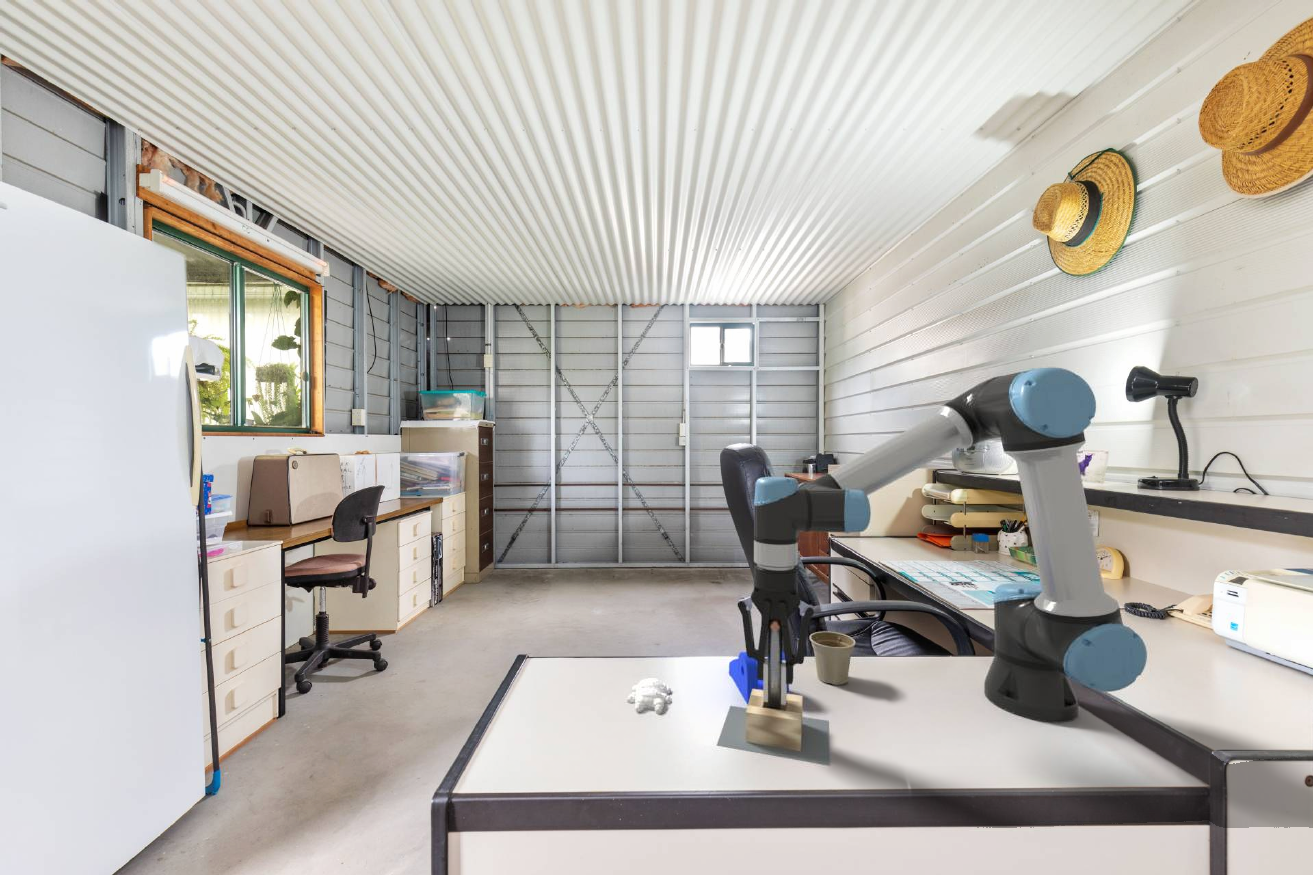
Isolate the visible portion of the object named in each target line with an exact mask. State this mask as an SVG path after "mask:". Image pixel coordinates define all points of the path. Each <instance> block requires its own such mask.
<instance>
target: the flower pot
mask: <svg viewBox="0 0 1313 875" xmlns="http://www.w3.org/2000/svg"><path fill="white" fill-rule="evenodd" d="M809 640H810V642H811V646H812V648H813V653H814V659H815V660H814V661H815V668H816V676H817V678H818V680H819V681H820V682H822V683H825V684H832V685H833V686H841V685H845V684H846V683H848V682H847V681H849V680H848V679H849V673H850V672H849V670H850V662H851V657H852V652H853V650H854V647H855V646H856V640H855V639H854V638H852V637H851V636H849V635H847V634H844V633H841V632H835V631H817V632H813V633H811V634H810V635H809Z"/></svg>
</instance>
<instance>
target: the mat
mask: <svg viewBox="0 0 1313 875" xmlns="http://www.w3.org/2000/svg"><path fill="white" fill-rule="evenodd" d="M746 710H747V707H742V706H737V705H736V706H733V705H729V709H728V711H727V715H726V716H725V717H726V718H725V721H724V723H723V726H722V728H721V732H720V734H719V738H718V740H717V744H716V746H717V747H722V748H723V747H724V748H728V749H729V748H730V749H735V750H739V751H740V750H741V751H746V752H753V753H756V754H757V753H758V754H764V755H768V756H772V757H773V756H774V757H780V758H784V759H792V760H796V761H802V762H808V763H814V764H819V765H825V766H830V765H831V764H830V761H831V759H830V729H829V728H830V727H829V724H830V722H829V720H827V719H819V718H812V717H804V716H803V722H802V739H801V751H796V750H790V749H784V748H779V747H773V746H767V745H761V744H756V743H750V742H746Z"/></svg>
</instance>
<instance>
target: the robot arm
mask: <svg viewBox="0 0 1313 875" xmlns="http://www.w3.org/2000/svg"><path fill="white" fill-rule="evenodd" d="M935 412H936V413H935V415H932V416H931V417H928V418H927V419H926V420H923V421H921V422H920V423H918V424H916V425H914V426H912V427H911V428H909V429H907V430H905V431H903V432H902V433H900V434H898V435H896V436H894V437H892V438H890V439H888V440H887V441H885V442H883V443H881V444H879V445H878V446H876V447H873V448H872V449H869V450H868V451H866V452H865V453H862V454H860V455H859V456H857V457H855V458H853V459H852V460H850V461H848V462H846V463H844V464H842V465H840V466H838V467H836V468H835V469H833V470H830V471H829V472H828V473H826V474H824V475H822V476H820V477H818V478H816V479H814V480H812V481H805V482H802V483H799V481H798V479H796V477H789V476H788V477H786V476H784V477H783V476H765V477H763V476H762V477H760V478H758V479H757V480H756V481H755V484H754V488H755V489H754V500H753V524H754V525H753V529H754V530H753V531H754V534H753V536H754V540H753V562H754V563H755V565H754V566H753V591H752V593H751V594H750V596H748V597H745V598H744V597H741V598H740V599H739V600H738V602H737V608H738V610H739V611H740V614H741V617H742V625H743V627H742V628H743V633H744V634H743V635H744V642H745V643H744V644H745V652H746V653H747V656H748V657H749V658H753V659H755V660H756V661H757V678H758V680H763V702H768V657H766V654H767V652H766V651H767V647H768V646H767V644H768V625H769V620H771V619H777V620H780V621H781V627H782V645H783V653H784V655H785V661H784V660H782V666H781V704H782V705H786V699H787V684H789V685H792V684H793V682H794V667H795V665H803V663H804V661H805V653H806V648H807V647H806V646H807V640H808V639H807V637H808V632H809V625H810V621H811V619H812V618H813V616H814V614H815V606H814V604H810V603H809V604H808V603H806V602H805V601H803V600H801V596H800V594H799V592H798V591H799V590H798V589H799V587H798V584H799V582H798V581H799V579H798V577H799V576H798V574H799V571H798V570H799V569H798V568H797V567H796V566H797V565H798V564H799V563H798V561H799V555H798V554H799V542H798V541H799V532H802V533H808V532H809V533H811V532H812V533H843V534H844V533H845V534H849V533H862V532H863V533H864V532H865V531H866V530H867V529H868V528H869V525H870V521H871V516H872V515H871V514H872V513H871V512H872V511H871V504H870V503H871V502H870V499H869V497H868V496H869V495H872V494H873V493H875V492H877V491H879V490H880V489H883V488H884V487H886V486H889V485H891V484H892V483H894V482H895V481H898V480H899V479H901V478H903V477H905V476H907V475H909V474H910V473H912V472H914V471H917V470H918V469H920V468H922V467H924V466H926V465H927V464H929V463H931V462H933V461H935V460H937V459H939V458H941V457H943V456H945V455H946V454H948V453H950V452H952V451H954V450H956V449H958V448H961V449H964V450H966V449H969V448H971V447H972V446H975V445H977V444H979V443H982V442H985V441H987V440H988V441H989V440H993V439H1000V441H1001V445H1002V450H1003V453H1004V454H1006V455H1008V456H1010V457H1011V458H1012V459H1014V460H1015V462H1016V468H1017V473H1018V478H1019V482H1020V488H1021V492H1022V499H1023V502H1024V507H1025V512H1026V517H1027V523H1028V527H1029V534H1030V539H1031V543H1032V548H1033V553H1034V557H1035V561H1036V562H1035V563H1036V569H1037V572H1038V578H1039V582H1040V584H1030V583H1029V584H1028V583H1002V584H1000V585H997V587H995V589H994V595H993V596H994V597H993V605H994V606H993V607H994V608H993V610H994V611H993V612H994V614H993V615H994V616H993V618H994V622H993V623H994V630H993V631H994V657H993V659H992V662H991V664H990V666H989V670H988V672H987V675H986V677H985V679H984V685H983V686H984V688H983V689H984V693H983V694H984V695H985V698H987V699H988V700H989V702H991V703H992V704H994V705H996V706H997V707H999V708H1001V709H1003V710H1005V711H1006V712H1009V713H1012V714H1016V715H1018V716H1022V717H1024V718H1029V719H1032V720H1038V721H1045V722H1051V723H1053V722H1054V723H1065V722H1071V721H1073V720H1075V719H1077V718H1078V716H1079V702H1078V699H1077V696H1076V693H1075V690H1074V688H1073V685H1072V682H1071V681H1073V682H1075V683H1077V684H1080V685H1083V686H1084V687H1086V688H1089V689H1091V690H1094V691H1098V692H1106V693H1107V692H1108V693H1109V692H1115V691H1116V692H1117V691H1120V690H1123V689H1125V688H1127V687H1129V686H1131V685H1132V684H1134V683H1135V682H1136V680H1137V678H1138V677H1139V676H1141V675H1142V674H1143V672H1144V670H1145V667H1146V664H1147V661H1148V660H1147V659H1148V651H1147V647H1146V644H1145V642H1144V640H1143V638H1142V637H1141V636H1140V635H1139V634H1138V633H1137V632H1135V630H1134V629H1132V628H1131V627H1129V626H1126V625H1124V623H1123V618H1122V614H1121V608H1120V604H1119V602H1118V600H1117V599H1115V598H1114V597H1112V596H1111V595H1109V594H1107V593H1106V591H1105V587H1104V582H1103V578H1102V572H1101V568H1100V562H1099V558H1098V553H1097V552H1098V551H1097V548H1096V544H1095V543H1096V542H1095V538H1094V534H1093V529H1092V524H1091V518H1090V513H1089V509H1088V505H1087V504H1088V503H1087V498H1086V495H1085V489H1084V484H1083V483H1084V482H1083V480H1082V474H1081V470H1080V464H1079V461H1078V459H1079V458H1078V455H1077V454H1078V452H1079V450H1080V449H1081V448H1082V447H1083V446H1084V445H1085V444H1086V436H1085V432H1084V431H1085V430H1086V429H1087V428H1088V427H1090V425H1091V423H1092V421H1091V420H1093V418H1095V414H1096V413H1097V402H1096V397H1095V394H1094V392H1093V390H1092V388H1091V386H1090V384H1088V382H1087V381H1086V380H1085V379H1084V378H1082V377H1081V376H1080V375H1078V374H1076V373H1075V372H1072V371H1071V370H1070V369H1066V368H1062V367H1056V366H1055V367H1053V366H1051V367H1038V368H1031V369H1027V370H1023V371H1019V372H1014V373H1009V374H1005V375H999V376H994V377H992V378H989V379H986V380H984V381H982V382H980V383H979V384H976V385H974V386H972V387H971V388H969V389H968V390H966V391H965V392H963V393H961V394H959V395H958V396H956V397H954V398H953V399H951V400H949V401H947V402H946V403H945V404H941V405H940V406H939V407H938V408H937V409H936V411H935ZM753 604H754V606H755V608H756V609H757V610H758V612H759V613H760V615H761V622H760V623H761V624H760V625H761V626H760V632H759V640H758V648H757V649H756V646H755V637H754V628H753V620H752V619H753V618H752V612H751V610H752V608H753ZM798 608H799V614H800V616H801V624H800V630H799V636H798V637H799V638H798V646H797V652H796V653H794V651H793V643H792V641H793V640H792V635H791V625H790V624H791V622H790V618H791V616H792V615H793V614H794V612H796V610H797V609H798Z"/></svg>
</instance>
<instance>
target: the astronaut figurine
mask: <svg viewBox="0 0 1313 875" xmlns="http://www.w3.org/2000/svg"><path fill="white" fill-rule="evenodd" d="M631 690H632V692H631V694H629V695H628V697H627V698H626V703H629V704H630V703H631V704H632V703H634V708H635V709H634V710H635V712H636V713H642V712H643V711H644V710H645V709H650V710H654V713H655V714H657V715H660V714H661V715H662V713H663V711H664V707H665V704H666V705H667V704H672V701H673V698H671V696H670V694H671V692H672V688H671V687H670V686H667V685H666V684H665V682H663V681H662V680H660V679H657V678H652V677H651V678H650V677H649V678H644V679H642V680H641V681H639V682H638V684H635V685H633V686H632V687H631Z"/></svg>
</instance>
